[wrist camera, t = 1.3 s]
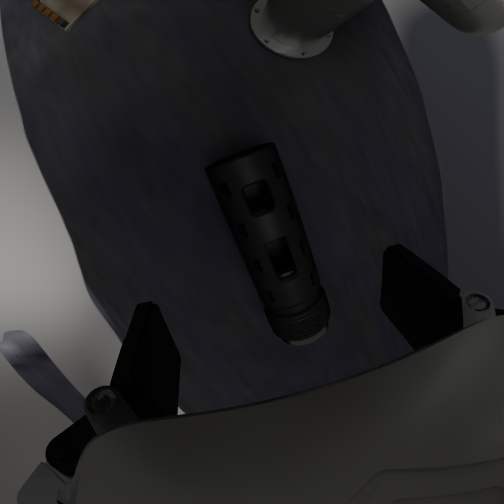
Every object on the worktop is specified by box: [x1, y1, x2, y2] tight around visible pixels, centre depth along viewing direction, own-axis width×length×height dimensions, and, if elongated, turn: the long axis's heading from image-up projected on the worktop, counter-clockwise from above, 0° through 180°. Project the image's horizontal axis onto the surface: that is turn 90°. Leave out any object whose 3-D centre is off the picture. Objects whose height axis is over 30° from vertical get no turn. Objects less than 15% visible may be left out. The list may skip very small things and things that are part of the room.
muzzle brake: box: [205, 142, 330, 346], centre depth 39 cm, size 10×28×10 cm, turn 21°
